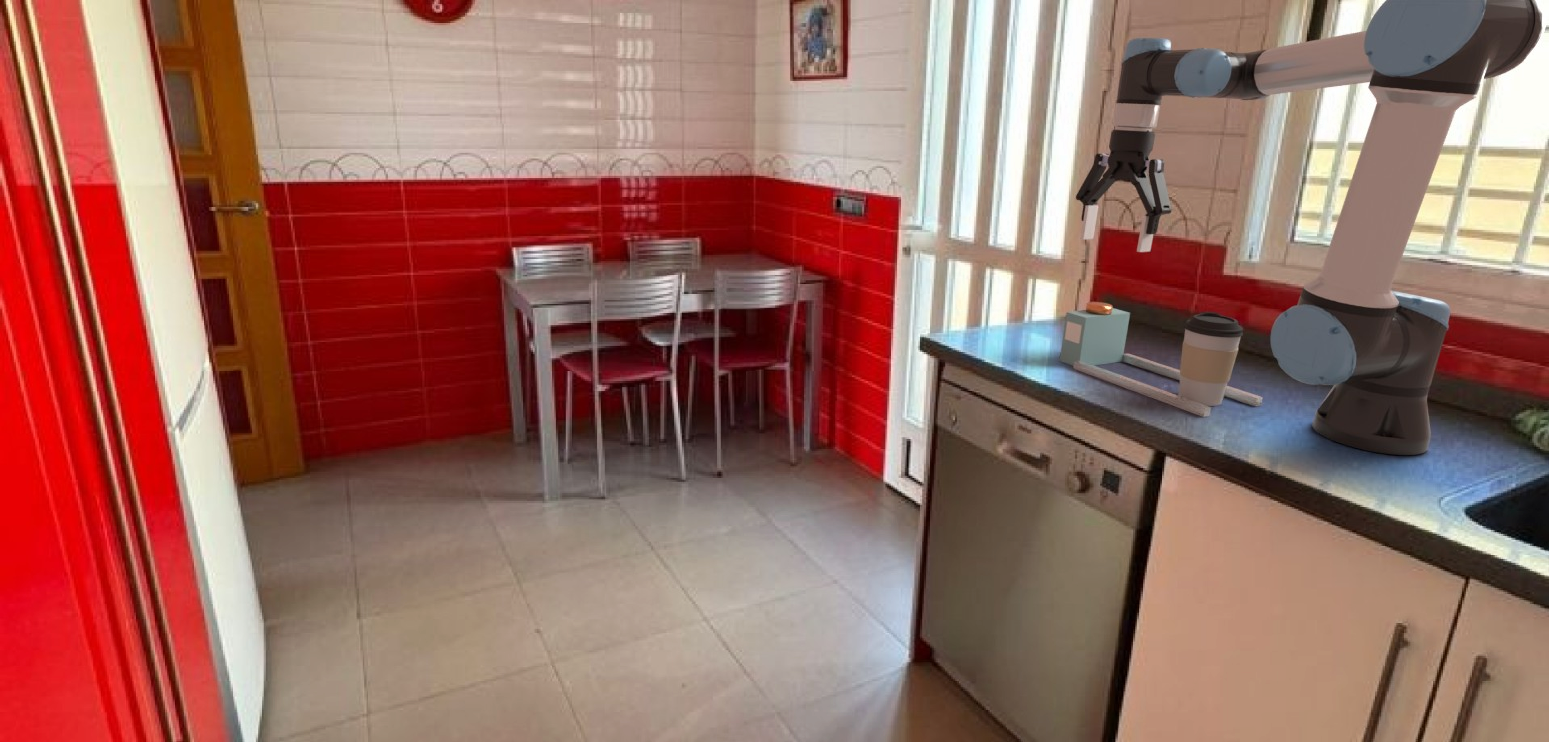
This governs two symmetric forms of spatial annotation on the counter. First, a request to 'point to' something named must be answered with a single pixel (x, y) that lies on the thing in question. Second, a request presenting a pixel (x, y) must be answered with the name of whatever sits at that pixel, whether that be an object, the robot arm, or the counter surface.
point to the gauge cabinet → (1094, 337)
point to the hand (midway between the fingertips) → (1114, 245)
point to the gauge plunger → (1099, 308)
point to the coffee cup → (1208, 357)
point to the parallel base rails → (1158, 393)
